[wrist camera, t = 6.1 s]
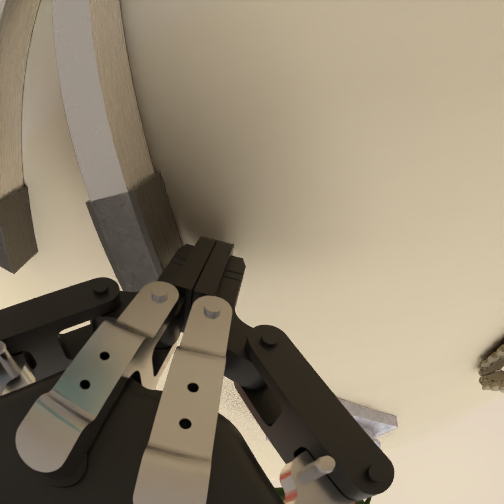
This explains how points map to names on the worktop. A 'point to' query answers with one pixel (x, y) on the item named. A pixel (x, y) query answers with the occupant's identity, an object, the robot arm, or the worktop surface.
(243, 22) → the worktop surface
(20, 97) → the tongs fixed
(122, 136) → the tongs jaw
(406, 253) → the worktop surface
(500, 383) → the jawbone
